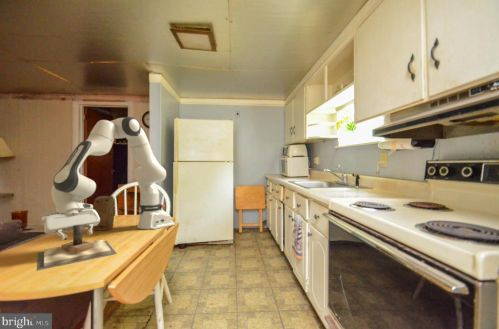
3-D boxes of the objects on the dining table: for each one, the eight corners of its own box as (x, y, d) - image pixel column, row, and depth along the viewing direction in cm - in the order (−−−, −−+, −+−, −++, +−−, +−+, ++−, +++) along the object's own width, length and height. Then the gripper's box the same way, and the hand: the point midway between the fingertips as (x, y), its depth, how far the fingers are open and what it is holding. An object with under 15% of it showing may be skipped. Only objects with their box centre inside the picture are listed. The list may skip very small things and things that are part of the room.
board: (102, 242, 118) (102, 239, 118) (110, 253, 104) (110, 249, 104) (44, 252, 104) (44, 249, 104) (44, 267, 89) (44, 263, 89)
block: (114, 227, 150) (115, 195, 150) (111, 230, 142) (111, 196, 143) (95, 228, 147) (95, 195, 147) (90, 231, 140) (90, 197, 140)
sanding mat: (106, 242, 121) (106, 240, 121) (117, 255, 104) (117, 253, 104) (38, 254, 104) (38, 252, 104) (36, 272, 87) (36, 270, 87)
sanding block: (61, 250, 102) (61, 226, 102) (78, 245, 109) (78, 222, 109) (77, 253, 99) (77, 228, 99) (93, 248, 105) (93, 224, 105)
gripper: (42, 210, 99) (50, 238, 94) (96, 204, 116) (105, 227, 111) (38, 219, 102) (46, 247, 96) (91, 212, 119) (100, 235, 113)
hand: (78, 236), depth 103 cm, fingers open, 8 cm apart
